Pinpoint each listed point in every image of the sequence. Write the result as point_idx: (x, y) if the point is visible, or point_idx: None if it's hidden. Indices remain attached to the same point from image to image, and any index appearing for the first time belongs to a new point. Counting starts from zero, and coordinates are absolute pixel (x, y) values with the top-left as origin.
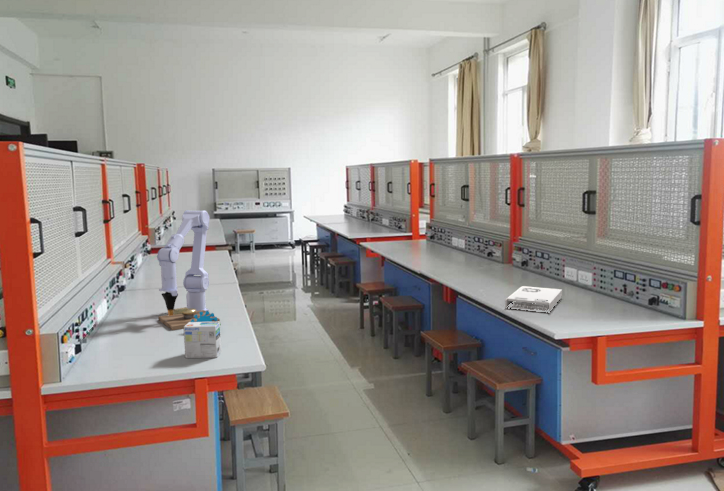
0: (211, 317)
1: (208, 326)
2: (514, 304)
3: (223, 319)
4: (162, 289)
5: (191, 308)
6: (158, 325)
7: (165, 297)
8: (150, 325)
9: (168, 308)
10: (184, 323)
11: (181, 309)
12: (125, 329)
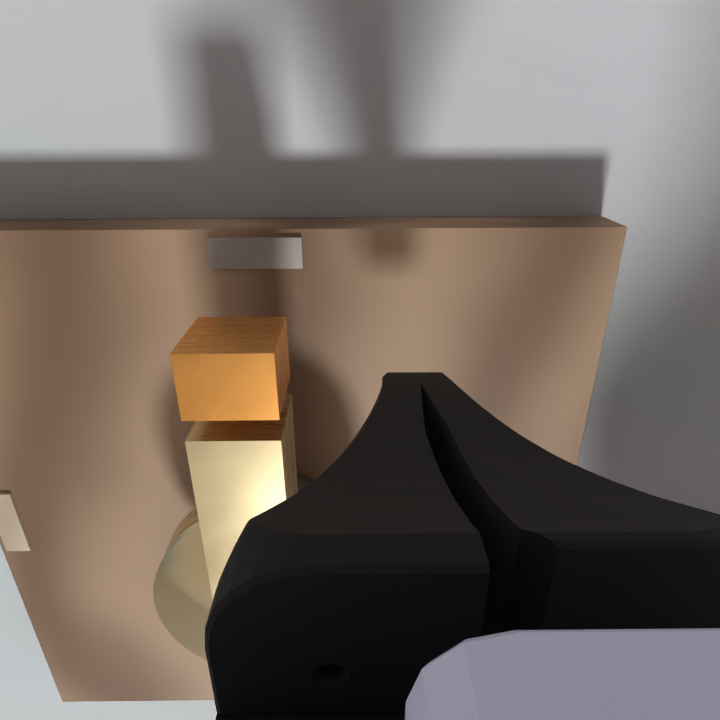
0: (165, 672)
1: None
2: None
3: (188, 709)
4: None
5: None
6: (298, 126)
7: (258, 519)
8: (371, 7)
9: (379, 395)
10: (5, 411)
11: (206, 541)
12: None
